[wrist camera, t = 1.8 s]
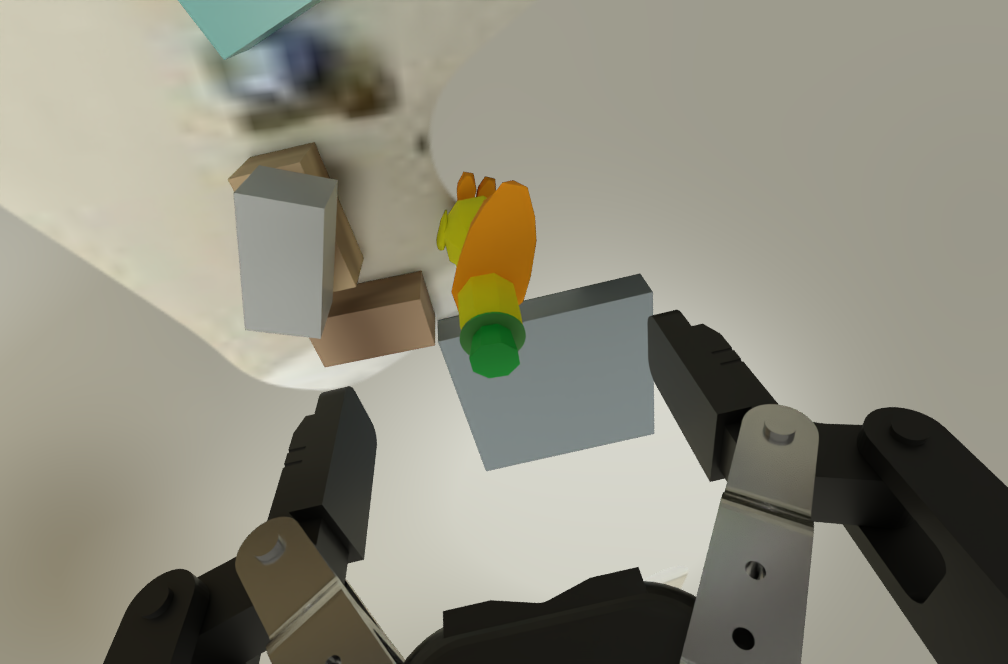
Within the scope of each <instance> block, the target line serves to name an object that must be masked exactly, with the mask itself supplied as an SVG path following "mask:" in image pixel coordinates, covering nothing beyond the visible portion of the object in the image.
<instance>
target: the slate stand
mask: <svg viewBox="0 0 1008 664" xmlns="http://www.w3.org/2000/svg"><path fill="white" fill-rule="evenodd" d="M519 308H520V312H521V317H522V323H523V326H524V328H525V332H526V339H525V343H524V345H523V346H522V348H521V349H520V350H519V351H518V354H519V360H520V365H519V366H518V367H517V368H516V369H514V370H513V371H512V372H511V373H510V374H509V375H508V376H502V377H495V378H487V377H484V376H482V375H480V374H477V373H475V372H473V370H472V367H471V363H470V360H469V356H470V355H468V354H467V353H466V352H465V351H464V350H463V348H462V347H461V344H460V332H461V328H460V322H459V316H456V317H452V318H447V319H443V320H439V321H438V343H439V346H440V348H441V351H442V353H443V356H444V359H445V362H446V364H447V367H448V370H449V372H450V375H451V378H452V381H453V383H454V386H455V389H456V391H457V394H458V397H459V399H460V402H461V405H462V407H463V410H464V413H465V416H466V418H467V421H468V423H469V426H470V429H471V432H472V435H473V437H474V440H475V443H476V445H477V448H478V451H479V453H480V456H481V459H482V461H483V464H484V467H485V469H486V471H489V470H494V469H498V468H503V467H507V466H512V465H516V464H520V463H525V462H530V461H534V460H538V459H543V458H548V457H552V456H556V455H561V454H566V453H570V452H575V451H579V450H583V449H588V448H593V447H597V446H602V445H606V444H610V443H615V442H620V441H624V440H629V439H633V438H638V437H642V436H647V435H651V434H654V380H653V378H652V375H651V372H650V368H649V363H648V326H647V322H648V317H649V316H652V315H653V292H652V290H651V289H650V287H649V286H648V284H647V283H646V281H645V280H644V279H643V277H642V275H641V274H636V275H632V276H628V277H623V278H619V279H615V280H610V281H607V282H602V283H598V284H593V285H589V286H585V287H580V288H576V289H572V290H567V291H563V292H559V293H555V294H551V295H546V296H542V297H537V298H534V299H529V300H525V301H523V303H521V304H520V305H519Z"/></svg>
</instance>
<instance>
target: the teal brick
mask: <svg viewBox="0 0 1008 664" xmlns="http://www.w3.org/2000/svg"><path fill="white" fill-rule="evenodd" d="M178 1H179V2H180V4H181V5H182V6H183V8H184V9H185V10H186V11H187V13H188V14H189V15H190V17H191V18H192V19H193V20H194V22H195V23H196V24H197V26H198V27H199V28H200V30H201V31H202V32H203V33H204V35H205V36H206V37H207V39H208V40H209V41H210V42H211V44H212V45H213V46H214V48H215V49H216V50H217V51H218V53H219V54H220V55H221V57H222V58H223V59H224V60H225V59H228V58H230V57H232V56H235V55H237V54H239V53H242V52H244V51H246V50H249V49H250V48H252V47H253V46H255V45H256V44H258V43H259V42H261V41H262V40H264V39H265V38H267V37H268V36H270V35H271V34H273V33H274V32H275V31H277V30H278V29H280V28H281V27H283V26H284V25H286V24H287V23H289V22H290V21H292V20H293V19H295V18H296V17H298V16H299V15H301V14H302V13H304V12H305V11H307V10H308V9H310V8H311V7H313V6H314V5H316V4H317V3H319V2H320V1H322V0H178Z"/></svg>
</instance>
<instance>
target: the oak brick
mask: <svg viewBox="0 0 1008 664" xmlns="http://www.w3.org/2000/svg"><path fill="white" fill-rule="evenodd" d="M259 165H261V166H266V167H271V168H276V169H282V170H287V171H292V172H297V173H303V174H308V175H313V176H318V177H324V178H329V175H328V173H327V171H326V168H325V166H324V164H323V161H322V159H321V157H320V154H319V152H318V149H317V147H316V145H315V142H313V143H308V144H304V145H300V146H296V147H292V148H287V149H283V150H279V151H275V152H270V153H266V154H262V155H258V156H254V157H250V158H249V159H248V160H247V161H246V162H245V163H244V164H243V165H242V166H241V167H240V168H239V169H238V170H237V171H236V172H235V173H234V174H233V175H232V176H231V177H230V178H229V179H228V181H229V183H230V184H231V186H232V188H233V190H234V192H235V191H236V190H237V189H238V187H239V186H240V185H241V184H242V183H243V182H244V181H245V180H246V179H247V178H248V177H249V176H250V174H251V173H252V172H253V171H254V170H255V169H256V168H257V167H258V166H259ZM329 179H330V178H329ZM362 262H363V256H362V253H361V251H360V249H359V246H358V244H357V241H356V239H355V237H354V234H353V232H352V230H351V227H350V225H349V223H348V220H347V218H346V216H345V213H344V211H343V208H342V206H341V204H340V201H339V199H338V197H337V212H336V235H335V258H334V281H333V292H336V291H340V290H345V289H349V288H354V287H356V286H357V282H358V278H359V274H360V270H361V266H362Z"/></svg>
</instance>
